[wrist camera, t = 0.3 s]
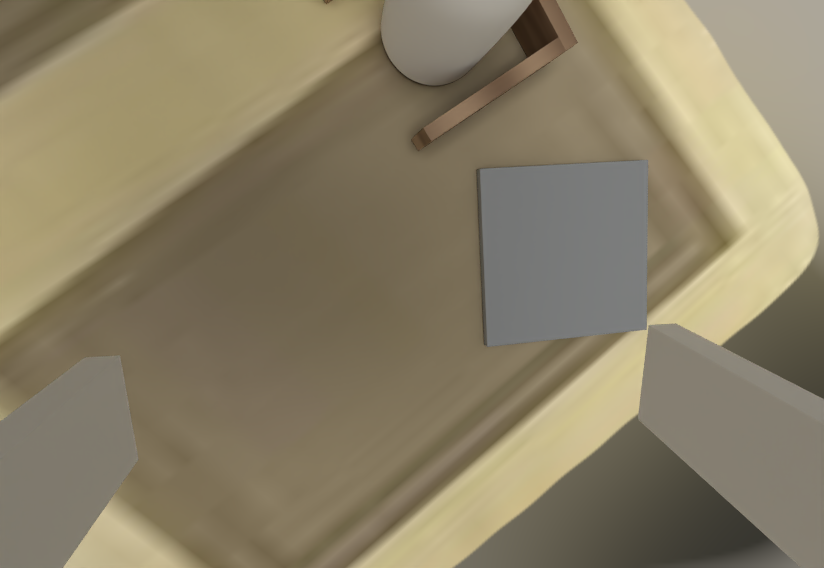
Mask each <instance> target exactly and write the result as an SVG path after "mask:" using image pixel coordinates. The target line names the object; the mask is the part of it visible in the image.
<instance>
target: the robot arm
mask: <svg viewBox="0 0 824 568" xmlns="http://www.w3.org/2000/svg"><path fill="white" fill-rule="evenodd" d="M638 420H640V421H641V422H642V423H643V424H644V425H645V426H646V427H647V428H648V429H649V430H651V431H652V432H653V433H654V434H655V435H656V436H657V437H658V438H659V439H660V440H661V441H663V442H664V443H665V444H666V445H667V446H668V447H669V448H670V449H672V451H674V452H675V453H676V454H677V455H678V456H679V457H680V458H681V459H682V460H684V461H685V462H686V463H687V464H688V465H689V466H690V467H691V468H692V469H693V470H695V471H696V472H697V473H698V474H699V475H700V476H701V477H702V478H703V479H704V480H706V481H707V482H708V483H709V484H710V485H711V486H712V487H713V488H715V490H717V491H718V492H719V493H720V494H721V495H722V496H723V497H724V498H725V499H726V500H727V501H729V502H730V503H731V504H732V505H733V506H734V507H735V508H736V509H737V510H738V511H740V512H741V513H742V514H743V515H744V516H745V517H746V518H747V519H748V520H749V521H751V522H752V523H753V524H754V525H755V526H756V527H757V528H758V529H759V530H760V531H761V532H763V533H764V534H765V535H766V536H767V537H768V538H769V539H770V540H772V542H774V543H775V544H776V545H777V546H778V547H779V548H780V549H781V550H782V551H784V552H785V553H786V554H787V555H788V556H789V557H790V558H791V559H792V560H794V561H795V562H796V563H797V564H798V565H799V566H800V567H801V568H824V399H822V398H820V397H818V396H816V395H814V394H812V393H810V392H808V391H806V390H804V389H802V388H801V387H799V386H797V385H795V384H793V383H791V382H789V381H787V380H785V379H783V378H781V377H779V376H777V375H775V374H773V373H771V372H769V371H767V370H765V369H764V368H762V367H760V366H757V365H756V364H754V363H752V362H749V361H748V360H746V359H744V358H742V357H740V356H738V355H736V354H734V353H732V352H730V351H728V350H726V349H724V348H722V347H721V346H719V345H717V344H715V343H713V342H711V341H709V340H707V339H705V338H703V337H701V336H699V335H697V334H695V333H693V332H691V331H689V330H687V329H685V328H683V327H681V326H680V325H678V324H661V325H649V328H648V337H647V345H646V354H645V363H644V371H643V380H642V388H641V397H640V406H639V414H638ZM137 461H138V454H137V449H136V443H135V438H134V432H133V426H132V421H131V415H130V409H129V404H128V398H127V392H126V387H125V381H124V375H123V370H122V364H121V359H120V355H119V356H101V357H85V358H83V359H82V360H81V361H79V362H78V363H77V364H75V365H74V366H73V367H71V368H70V369H69V370H67V371H66V372H65V373H64V374H62V375H61V376H60V377H58V378H57V379H56V380H54V381H53V382H52V383H50V384H49V385H48V386H46V387H45V388H44V389H42V390H41V391H40V392H39V393H37V394H36V395H35V396H33V397H32V398H31V399H29V400H28V401H27V402H25V403H24V404H23V405H21V406H20V407H19V408H17V409H16V410H15V411H13V412H12V413H11V414H10V415H8V416H7V417H6V418H4V419H3V420H2V421H0V568H63V567H64V565H65V564H66V563H67V561H68V560H69V558H70V557H71V555H72V554H73V553H74V551H75V550H76V548H77V547H78V545H79V544H80V542H81V541H82V540H83V538H84V537H85V535H86V534H87V532H88V531H89V530H90V528H91V527H92V525H93V524H94V522H95V521H96V520H97V518H98V517H99V515H100V514H101V512H102V511H103V509H104V508H105V507H106V505H107V504H108V502H109V501H110V499H111V498H112V497H113V495H114V494H115V492H116V491H117V489H118V488H119V486H120V485H121V484H122V482H123V481H124V479H125V478H126V476H127V475H128V474H129V472H130V471H131V469H132V468H133V466H134V465H135V464H136V462H137Z"/></svg>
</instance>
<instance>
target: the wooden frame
mask: <svg viewBox="0 0 824 568" xmlns="http://www.w3.org/2000/svg"><path fill="white" fill-rule="evenodd" d="M324 1H325V3H326V4H327V3H329V2H330V1H332V0H324ZM511 28H512V30H513V32H514V34H515V35H516V37H517V39H518V41H519V43H520V44H521V46H522V48H523V50H524V52H525V54H526V55H527V57H528V58H527V59H525V60H524V61H522V62H521V63H519V64H518V65H516V66H515V67H513V68H512V69H510V70H509V71H507V72H506V73H504V74H503V75H501V76H500V77H498V78H497V79H495V80H494V81H492V82H491V83H489V84H488V85H486V86H485V87H483V88H482V89H481V90H479V91H478V92H476V93H475V94H473V95H472V96H470V97H469V98H467V99H466V100H464V101H463V102H461V103H460V104H458V105H457V106H455V107H454V108H452V109H451V110H449V111H448V112H446V113H445V114H443V115H442V116H440V117H439V118H437V119H436V120H434V121H433V122H431V123H430V124H428V125H427V126H425V127H424V128H423V129H422V130H421V131H420V132H418V133H417V134H416V135H415V136H414V137H413V138H412V139H411V140H412V141H413V143H414V145H415V146H416V148H417V149H418V151H419V150H421V149H422V148H424V147H425V146H427V145H428V144H430V143H431V142H433V141H434V140H435V139H437V138H438V137H440V136H441V135H443V134H444V133H446V132H447V131H449V130H450V129H452V128H453V127H455V126H456V125H458V124H459V123H461V122H462V121H464V120H465V119H467V118H468V117H470V116H471V115H473V114H474V113H476V112H477V111H479V110H480V109H482V108H483V107H484V106H486V105H487V104H489V103H490V102H492V101H493V100H495V99H496V98H498V97H499V96H501V95H502V94H504V93H505V92H507V91H508V90H510V89H511V88H513V87H514V86H516V85H517V84H519V83H520V82H522V81H523V80H525V79H526V78H528V77H529V76H531V75H532V74H533V73H535V72H536V71H538V70H539V69H541V68H542V67H544V66H545V65H547V64H548V63H550V62H551V61H552V60H554V59H555V58H557V57H558V56H560V55H561V54H562V53H564V52H565V51H567V50H568V49H570V48H571V47H572V46H574V45H575V44H577V43H578V42H577V40H576V38H575V36H574V34H573V32H572V30H571V28H570V26H569V25H568V23H567V21H566V19H565V17H564V15H563V13H562V11H561V9H560V7H559V6H558V4H557V2H556V0H532V2H531V3H530V5H529V6H528V7H527V8H526V10H525V11H524V12H523V13H522V15H521V16H520V17H519V18H518V20H517V21H516V22H515V23H514V24H513V25H512V26H511Z"/></svg>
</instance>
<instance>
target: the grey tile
mask: <svg viewBox="0 0 824 568" xmlns="http://www.w3.org/2000/svg"><path fill="white" fill-rule="evenodd" d="M477 185H478V209H479V232H480V256H481V279H482V303H483V326H484V344H485V345H486V346H487V347H490V346H499V345H508V344H518V343H527V342H536V341H545V340H554V339H564V338H573V337H582V336H591V335H600V334H610V333H619V332H628V331H637V330H647V217H648V160H638V161H619V162H600V163H581V164H562V165H543V166H524V167H505V168H486V169H478V170H477Z"/></svg>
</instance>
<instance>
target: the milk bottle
mask: <svg viewBox="0 0 824 568" xmlns="http://www.w3.org/2000/svg"><path fill="white" fill-rule="evenodd" d="M531 2H532V0H385V2H384V6H383V11H382V18H381V36H382V41H383V45H384V48H385V50H386V53H387V55H388V57H389V58H390V60H391V61H392V63H393V64H394V65H395V67H396V68H397V69H398V70H399V71H400V72H401V73H403V74H404V75H405V76H407V77H408V78H410V79H411V80H413V81H416V82H418V83H421V84H425V85H434V86H437V85H445V84H449V83H452V82H454V81H456V80H458V79H460V78H461V77H463V76H464V75H465V74H466V73H467V72H469V71H470V70H471V69H472V68H473V67H474V66H475V65H476V64H477V63H478V62H479V61H480V60H481V59H482V58H483V56H484V55H485V54H486V53H487V52H488V51H489V50H490V49H491V48H492V47H493V46H494V45H495V44H496V43H497V42H498V40H499V39H500V38H501V37H502V36H503V35H504V34H505V33H506V32H507V31H508V30H509V28H510V27H511V26H512V25H513V24H514V23H515V22H516V21H517V20H518V18H519V17H520V16H521V15H522V13H523V12H524V11H525V10H526V8H527V7H528V6H529V5H530V3H531Z"/></svg>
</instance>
